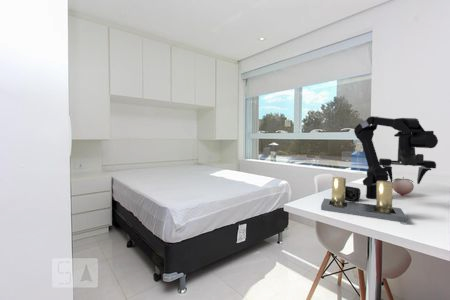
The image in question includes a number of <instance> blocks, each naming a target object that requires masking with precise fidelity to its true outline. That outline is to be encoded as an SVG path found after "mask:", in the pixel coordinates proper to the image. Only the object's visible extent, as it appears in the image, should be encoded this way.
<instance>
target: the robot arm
mask: <svg viewBox="0 0 450 300" xmlns="http://www.w3.org/2000/svg"><path fill="white" fill-rule="evenodd" d="M378 126H383V127H388V128H392V129H393V130H396V131H397V133H395V134H394V136H393V137H394V138H395V137H396V138H397V137H398V141H397V143H398V144H397V145H398V146H397V147H398V148H397V160H392V159H391V158H378V155H377V151H376V148H375V145H374V142H373V138H374V135H375V133H374V132H375V131H376V130H378V129H377V128H378ZM353 131H354V132H353V133H354V135H355V136H356V138H357V140H359V141H360V142H361V146H362V149H363V152H364V155H365V159H366V162H367V167H368V168H367V170H366V177H364V179H363V180H362V185H363V186H365V187H366V190H365V192H366V193H365V198H367V199H372V200H373V199H374V200H376V196H377V181H388V180H389V179H390V180H389V181H390V182H393V181H392V180H394V179H393V170H392V169H393V167H392V165H395V166H396V165H397V166H405V167H406V166H412V167H418V173H417V179H416V180H417V185H420V184H421V181H422V180H423V178H424V176H425V174H426V173H427V172H428V171H432V169H437V163H436V161H433V160H425V159H424V158H425V157H424V156H425V155H424V154H423V153H420V154H419V153H416V148H417V149H419V148H421V149H422V148H423V149H433V148H436V147H437V144H438V143H439V142H438V141H439V139H438V137H437V136H436V135H437V134H434V130H425V129H424V128H423V126H422V125H421V124H420V121H419V119H418V118H416V117H411V118H410V117H399V118H390V117H381V116H369V117H368V118H367V119H365V120H363V121H361V122H360V123H358V124H357V125H356V126H355V128H354V130H353Z"/></svg>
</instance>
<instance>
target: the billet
mask: <svg viewBox="0 0 450 300" xmlns="http://www.w3.org/2000/svg"><path fill="white" fill-rule="evenodd" d="M346 181H347V179H346V177H341V176H332V181H331V184H332V186H331V199H332V205H336V206H343V207H345V187H346V186H347V185H346V184H347V183H346Z"/></svg>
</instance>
